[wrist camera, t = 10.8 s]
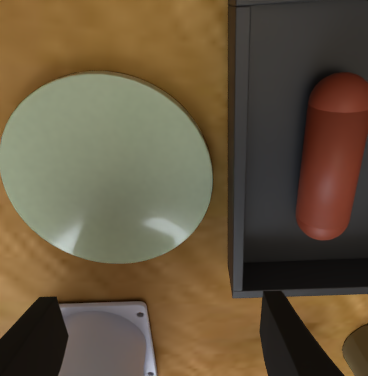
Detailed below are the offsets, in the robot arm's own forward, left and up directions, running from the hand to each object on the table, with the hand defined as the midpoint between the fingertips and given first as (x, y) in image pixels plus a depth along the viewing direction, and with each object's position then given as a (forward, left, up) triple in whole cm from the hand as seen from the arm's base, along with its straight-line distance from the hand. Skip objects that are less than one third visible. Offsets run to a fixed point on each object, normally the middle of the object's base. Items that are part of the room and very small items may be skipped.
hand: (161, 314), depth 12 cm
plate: (+1, +4, -10) cm, 10 cm away
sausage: (+2, -9, -9) cm, 13 cm away
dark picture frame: (+2, -9, -10) cm, 13 cm away
